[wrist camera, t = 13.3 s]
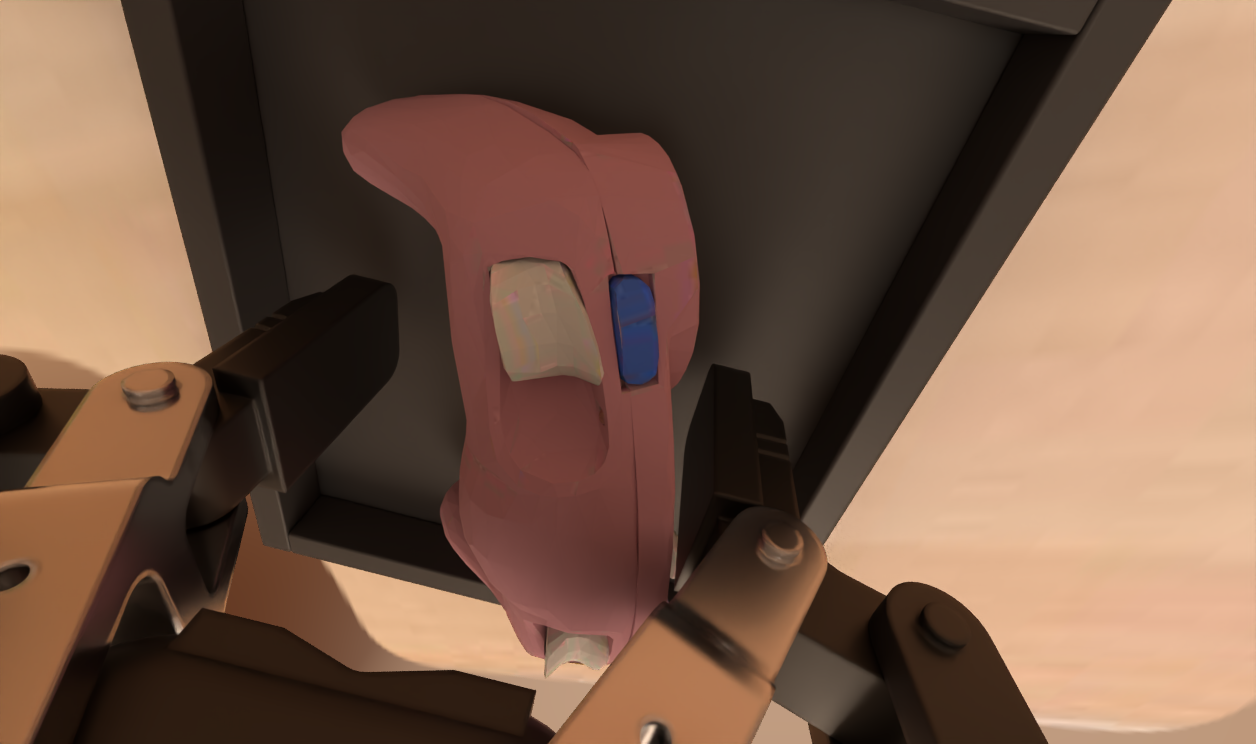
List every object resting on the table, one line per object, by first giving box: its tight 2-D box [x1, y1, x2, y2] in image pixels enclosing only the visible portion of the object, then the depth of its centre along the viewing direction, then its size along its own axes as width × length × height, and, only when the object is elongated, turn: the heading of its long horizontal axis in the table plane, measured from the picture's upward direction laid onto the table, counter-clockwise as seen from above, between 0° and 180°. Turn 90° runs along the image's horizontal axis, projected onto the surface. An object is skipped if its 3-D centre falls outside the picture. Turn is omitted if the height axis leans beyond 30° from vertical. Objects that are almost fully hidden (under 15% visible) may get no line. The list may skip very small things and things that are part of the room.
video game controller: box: [342, 94, 700, 679], centre depth 9 cm, size 10×5×7 cm, turn 0°
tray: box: [121, 0, 1172, 605], centre depth 11 cm, size 14×16×2 cm
